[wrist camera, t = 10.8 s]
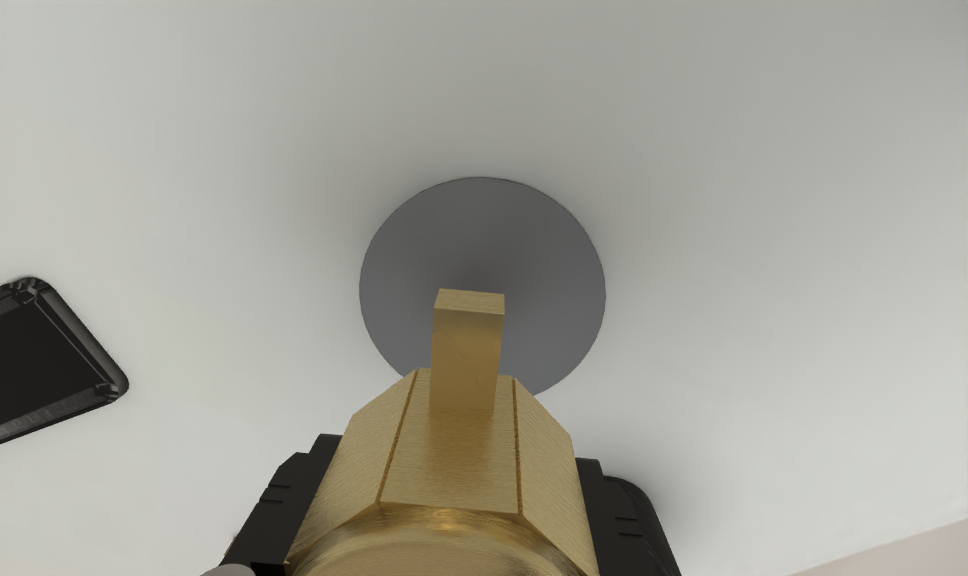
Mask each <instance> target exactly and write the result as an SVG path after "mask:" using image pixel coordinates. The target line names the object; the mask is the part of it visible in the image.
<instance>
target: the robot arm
mask: <svg viewBox="0 0 968 576" xmlns="http://www.w3.org/2000/svg"><path fill="white" fill-rule="evenodd" d="M342 437H343V435H333V434H320V435H319V436H318V437H317V439H316V441H315V443H314V445H313V446H312V448H311V450H310V452H309V453H299V452H296V453H295V454H293V455H292V456H291V457H290V458H289V459H288V460H286V461H285V462H284V463H283V464H282V465H280V466H279V467H278V469H277V471H276V472H275V474H274V476H273V477H272V479H271V481H270V482H269V484H268V488H266V489H265V491H264V492H263V494H262V496H261V497H260V499H259V503H257V504H256V506H255V507H254V509H253V511H252V512H251V514H250V516H249V517H248V519H247V520H246V522H245V524H244V525H243V527H242V529H241V530H240V532H239V534H238V535H237V537H236V539H235V540H234V542H233V544H232V545H231V547H230V549H229V550H228V552H227V554H226V555H225V557H224V559H223V560H222V562H221V563H220V564H219V566H218V567H216V568H213V569H211V570H209V571H207V572H205V573H204V574H202V575H201V576H285V570H284V561H285V559H286V557H287V555H288V553H289V551H290V548H291V546H292V544H293V542H294V540H295V538H296V535H297V533H298V531H299V529H300V527H301V525H302V523H303V520H304V518H305V516H306V514H307V512H308V510H309V508H310V505H311V503H312V501H313V499H314V497H315V495H316V493H317V490H318V488H319V486H320V484H321V482H322V480H323V478H324V475H325V473H326V471H327V469H328V467H329V465H330V463H331V460H332V458H333V456H334V454H335V452H336V450H337V447H338V445H339V443H340V441H341V439H342ZM575 461H576V466H577V471H578V475H579V480H580V485H581V489H582V494H583V499H584V504H585V508H586V513H587V518H588V523H589V527H590V532H591V537H592V542H593V546H594V551H595V556H596V560H597V565H598V570H599V575H600V576H656V572H655V569H654V566H653V563H652V560H651V557H650V554H649V551H648V548H647V545H646V542H645V539H643V533H642V530H641V527H640V524H639V523H638V518H637V515H636V512H635V509H634V506H633V503H632V500H631V499H630V497H629V496H628V495H627V493H626V492H625V491H624V490H623V488H622V487H621V486H620V484H619V483H617V482H606V481H605V480H604V477H603V473H602V470H601V466H600V463H599V461H598V460H597V459H586V458H575Z"/></svg>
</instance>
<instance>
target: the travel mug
mask: <svg viewBox="0 0 968 576" xmlns="http://www.w3.org/2000/svg"><path fill="white" fill-rule="evenodd" d="M603 477H604V480H605V481H606V482H617V483H619V484H620V486H621V487H622V488H623V490H624V491H625V492H626V493H627V495H628V496H629V497H630V499H631V500H632V503H633V506H634V509H635V512H636V515H637V518H638V523H639V524H640V527H641V530H642V533H643V539H645V542H646V545H647V548H648V551H649V554H650V557H651V560H652V563H653V566H654V569H655V572H656V576H682V575H681V573H680V570H679V568H678V566H677V563H676V561H675V558H674V556H673V553H672V551H671V548H670V546H669V544H668V541H667V539H666V536H665V534H664V531H663V529H662V526H661V524H660V522H659V519H658V517H657V515H656V512H655V510H654V508H653V506H652V504H651V502H650V500H649V499H648V497H647V496H646V495H645V494H644V493H643V492H642V491H641V490H640V489H639V488H637V487H636V486H635V485H633V484H631V483H629V482H627V481H624V480H621V479H617V478H613V477H605V476H603Z"/></svg>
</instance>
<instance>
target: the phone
mask: <svg viewBox="0 0 968 576" xmlns="http://www.w3.org/2000/svg"><path fill="white" fill-rule="evenodd" d="M128 388H129V382H128V378H127V377H126V375H125V374H124V372H123V371H122V370H121V369H120V368H119V366H118V365H117V364H116V363H115V362H114V360H113V359H112V358H111V357H110V355H109V354H108V353H107V352H106V351H105V349H104V348H103V347H102V346H101V345H100V343H99V342H98V341H97V340H96V339H95V337H94V336H93V335H92V334H91V333H90V331H89V330H88V329H87V328H86V326H85V325H84V324H83V323H82V322H81V320H80V319H79V318H78V317H77V316H76V314H75V313H74V312H73V311H72V310H71V308H70V307H69V306H68V305H67V304H66V302H65V301H64V300H63V299H62V298H61V296H60V295H59V294H58V293H57V291H56V290H55V289H54V288H53V287H52V286H51V285H49V284H48V283H46V282H45V281H43V280H40V279H38V278H32V277H27V278H23V279H20V280H17V281H15V282H12V283H9V284H5V285H2V286H0V444H2V443H5V442H8V441H10V440H13V439H16V438H19V437H21V436H24V435H27V434H29V433H32V432H35V431H38V430H40V429H43V428H46V427H48V426H51V425H54V424H56V423H59V422H62V421H65V420H67V419H70V418H73V417H75V416H78V415H81V414H84V413H86V412H89V411H92V410H94V409H97V408H100V407H103V406H105V405H108V404H111V403H113V402H114V401H116V400H117V399H118V398H120V397H121V396H122V395H124V394H125V393H126V392H127V390H128Z"/></svg>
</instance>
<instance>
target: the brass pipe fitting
mask: <svg viewBox="0 0 968 576" xmlns="http://www.w3.org/2000/svg"><path fill="white" fill-rule="evenodd" d="M504 316H505V310H504V294H497V293H486V292H475V291H464V290H454V289H443V288H440V289H439V292H438V296H437V299H436V302H435V305H434V309H433V331H432V352H431V368H421V367H420V368H419V371H418V370H417V369H414V370H413V371H412V372H410V373H409V374H408V375H406V376H405V377H404V378H402V379H401V380H400V381H398V382H397V383H395V384H394V385H393V386H391V387H390V388H389V389H387V390H386V391H385V392H383V393H382V394H381V395H379V396H378V397H377V398H375V399H374V400H372V401H371V402H370V403H368V404H367V405H366V406H364V407H363V408H362V409H360V410H359V411H358V412H356V413H355V414H353V415H352V418H351V420H350V422H349V424H348V426H347V428H346V430H345V432H344V435H343V437H342V439H341V441H340V443H339V445H338V447H337V450H336V452H335V454H334V456H333V458H332V460H331V463H330V465H329V467H328V469H327V471H326V473H325V475H324V478H323V480H322V482H321V484H320V486H319V488H318V490H317V493H316V495H315V497H314V499H313V501H312V503H311V505H310V508H309V510H308V512H307V514H306V516H305V518H304V520H303V523H302V525H301V527H300V529H299V531H298V533H297V535H296V538H295V540H294V542H293V544H292V546H291V548H290V551H289V553H288V555H287V557H286V559H285V561H284V570H285V576H600V575H599V570H598V565H597V560H596V556H595V551H594V546H593V542H592V537H591V532H590V527H589V523H588V518H587V513H586V508H585V504H584V499H583V494H582V489H581V485H580V480H579V475H578V471H577V466H576V461H575V456H574V452H573V447H572V442H571V438H570V435H569V434H568V432H567V431H566V430H565V429H564V428H563V427H562V426H561V425H560V424H559V423H558V422H557V421H556V420H555V419H554V418H553V417H552V416H551V415H550V413H549V412H548V411H547V410H546V409H545V408H544V407H543V406H542V405H541V404H540V403H539V402H538V401H537V400H536V399H535V398H534V397H533V396H532V395H531V393H530V392H529V391H528V390H527V389H526V388H525V387H524V386H523V385H522V384H521V383H520V382H519V381H518V380H517V379H516V378H513V379H512V376H509V375H498V367H499V358H500V350H501V341H502V333H503V324H504Z"/></svg>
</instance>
